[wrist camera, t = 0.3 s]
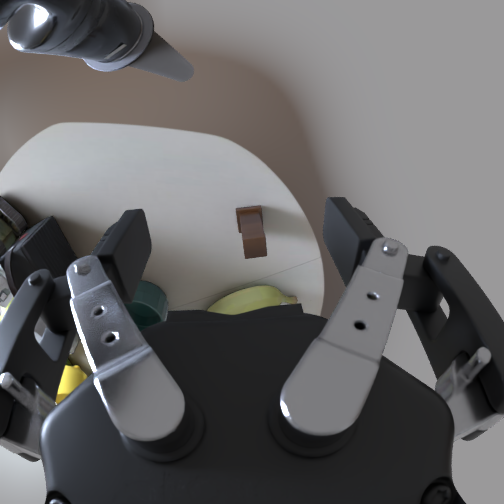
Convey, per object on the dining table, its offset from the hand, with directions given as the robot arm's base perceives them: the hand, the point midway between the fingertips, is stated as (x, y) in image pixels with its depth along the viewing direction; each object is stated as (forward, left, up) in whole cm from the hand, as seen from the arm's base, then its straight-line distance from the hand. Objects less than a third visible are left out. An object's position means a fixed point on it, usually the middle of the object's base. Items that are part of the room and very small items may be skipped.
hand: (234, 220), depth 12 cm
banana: (+33, -1, -30) cm, 45 cm away
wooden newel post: (+14, +2, -30) cm, 33 cm away
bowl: (+28, -21, -30) cm, 46 cm away
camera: (+14, -38, -30) cm, 50 cm away
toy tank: (0, -47, -24) cm, 53 cm away
